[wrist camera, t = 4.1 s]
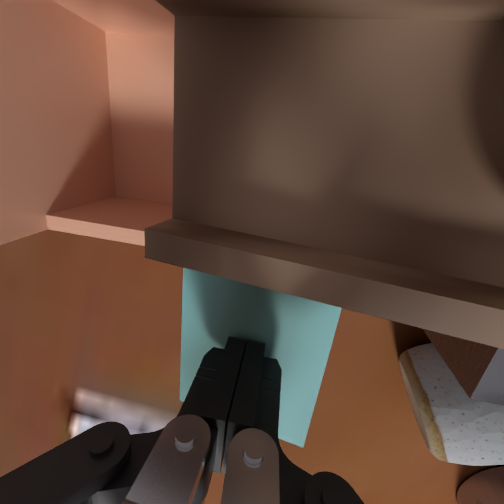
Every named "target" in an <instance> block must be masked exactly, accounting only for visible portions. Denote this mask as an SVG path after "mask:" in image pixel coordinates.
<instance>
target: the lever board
mask: <svg viewBox="0 0 504 504" xmlns="http://www.w3.org/2000/svg"><path fill="white" fill-rule="evenodd" d="M156 1H157V2H158V3H159V4H161V5H162V6H163V7H164V8H166V9H167V10H168V11H169V12H171V13H172V14H173V15H174V16H175V23H174V118H173V213H172V218H171V219H168V220H166V221H163V222H161V223H158V224H155V225H153V226H150V227H148V228H145V229H144V233H145V258H148V259H152V260H156V261H160V262H164V263H168V264H172V265H176V266H180V267H183V297H182V334H181V371H180V401H183V402H184V400H185V398H186V396H187V393H188V391H189V389H190V387H191V384H192V382H193V380H194V377H195V376H196V373H197V371H198V368H199V366H200V364H201V361H202V359H203V357H204V355H205V354H206V353H207V352H208V351H209V350H210V349H212V348H213V347H217V348H222V349H224V348H225V346H226V343H227V340H228V337H229V336H231V337H236V338H242V339H247V342H248V340H253V341H258V342H263V343H266V346H265V352H264V357H269V358H274V359H277V360H278V362H279V365H280V367H281V369H282V376H281V392H280V409H279V426H278V438H279V439H282V440H284V441H287V442H290V443H292V444H295V445H297V446H300V447H303V446H304V443H305V439H306V435H307V432H308V428H309V424H310V421H311V417H312V414H313V410H314V406H315V403H316V399H317V396H318V392H319V388H320V385H321V381H322V378H323V374H324V370H325V367H326V363H327V360H328V356H329V352H330V349H331V345H332V342H333V338H334V334H335V331H336V327H337V324H338V320H339V316H340V313H341V309H342V308H344V309H348V310H352V311H356V312H360V313H364V314H368V315H371V316H375V317H379V318H383V319H387V320H391V321H395V322H399V323H403V324H407V325H411V326H415V327H419V328H422V329H426V330H430V331H434V332H438V333H442V334H446V335H450V336H454V337H458V338H462V339H466V340H469V341H473V342H477V343H481V344H485V345H489V346H493V347H497V348H501V349H504V0H156ZM246 346H247V344H246Z"/></svg>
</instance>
